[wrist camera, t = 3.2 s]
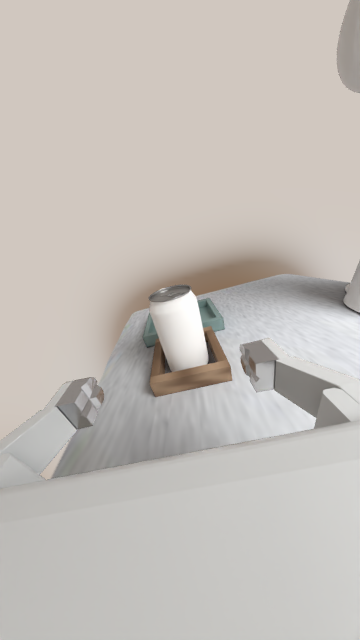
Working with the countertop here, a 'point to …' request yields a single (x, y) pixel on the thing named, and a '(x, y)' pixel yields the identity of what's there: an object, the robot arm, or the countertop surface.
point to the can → (179, 327)
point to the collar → (189, 370)
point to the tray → (208, 318)
